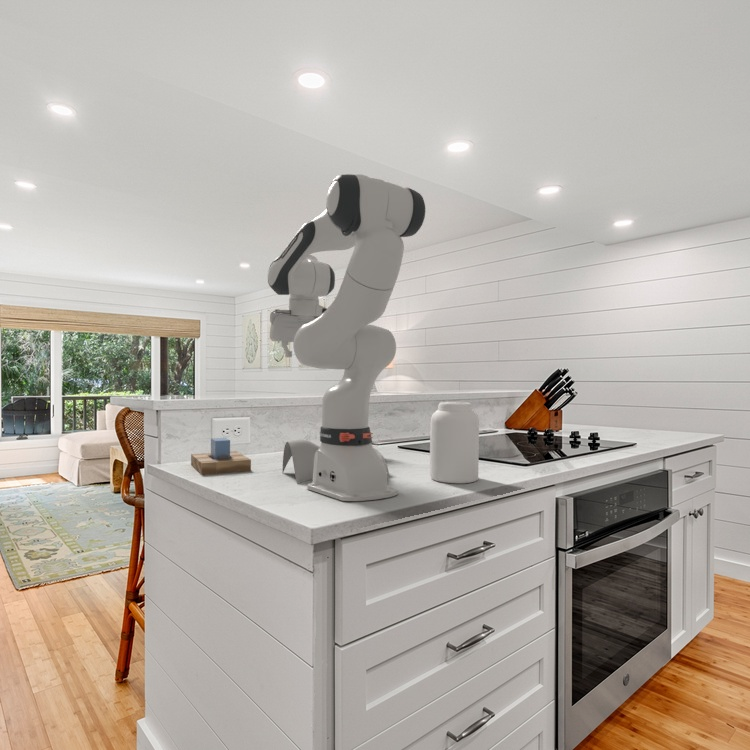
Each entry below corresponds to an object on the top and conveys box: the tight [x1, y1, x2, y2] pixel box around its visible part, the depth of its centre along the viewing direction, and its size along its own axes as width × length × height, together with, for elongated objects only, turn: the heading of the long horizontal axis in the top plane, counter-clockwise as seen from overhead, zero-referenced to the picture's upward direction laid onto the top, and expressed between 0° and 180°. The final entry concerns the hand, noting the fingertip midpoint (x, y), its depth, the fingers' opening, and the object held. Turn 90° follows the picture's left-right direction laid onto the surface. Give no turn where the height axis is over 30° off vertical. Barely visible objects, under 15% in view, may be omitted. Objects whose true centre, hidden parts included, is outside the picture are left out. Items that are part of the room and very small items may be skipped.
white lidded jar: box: [429, 401, 480, 485], centre depth 133 cm, size 12×12×20 cm
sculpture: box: [282, 439, 390, 485], centre depth 138 cm, size 25×19×10 cm
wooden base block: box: [190, 450, 252, 475], centre depth 145 cm, size 16×13×3 cm
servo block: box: [210, 437, 231, 460], centre depth 145 cm, size 9×4×8 cm, turn 29°
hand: (303, 357), depth 153 cm, fingers open, 8 cm apart
